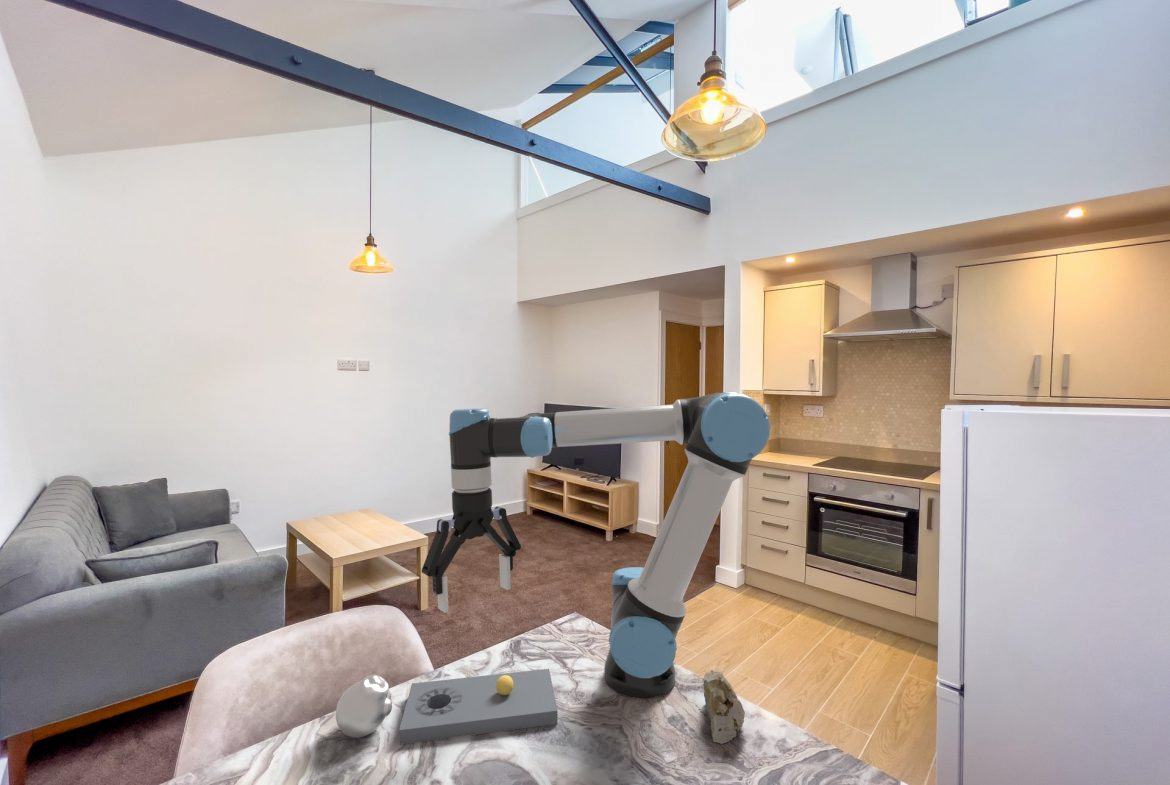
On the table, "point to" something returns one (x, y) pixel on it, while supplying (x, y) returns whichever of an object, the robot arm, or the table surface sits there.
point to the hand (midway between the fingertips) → (475, 598)
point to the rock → (722, 707)
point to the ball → (504, 685)
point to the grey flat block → (477, 706)
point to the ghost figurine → (364, 706)
